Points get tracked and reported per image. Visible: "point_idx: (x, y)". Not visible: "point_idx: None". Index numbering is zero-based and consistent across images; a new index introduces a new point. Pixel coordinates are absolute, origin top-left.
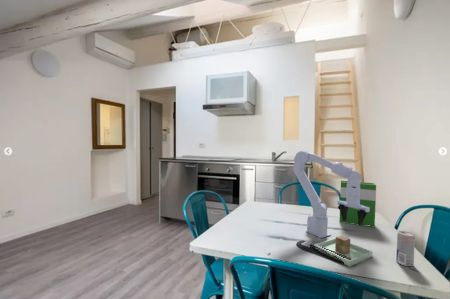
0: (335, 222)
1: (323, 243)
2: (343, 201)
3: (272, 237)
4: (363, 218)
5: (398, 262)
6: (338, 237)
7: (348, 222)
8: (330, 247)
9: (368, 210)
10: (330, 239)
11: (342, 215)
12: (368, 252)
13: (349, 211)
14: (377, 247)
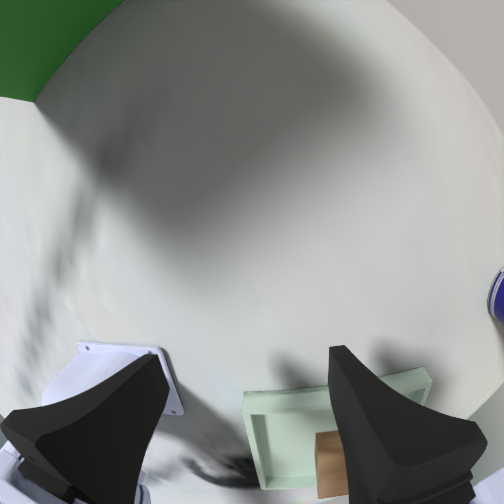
0: (28, 135)
1: (261, 466)
2: (7, 500)
3: (150, 483)
4: (382, 395)
5: (494, 317)
6: (328, 495)
7: (59, 61)
8: (285, 451)
9: (497, 497)
10: (250, 442)
11: (144, 434)
12: (423, 399)
13: (11, 38)
14: (402, 241)
